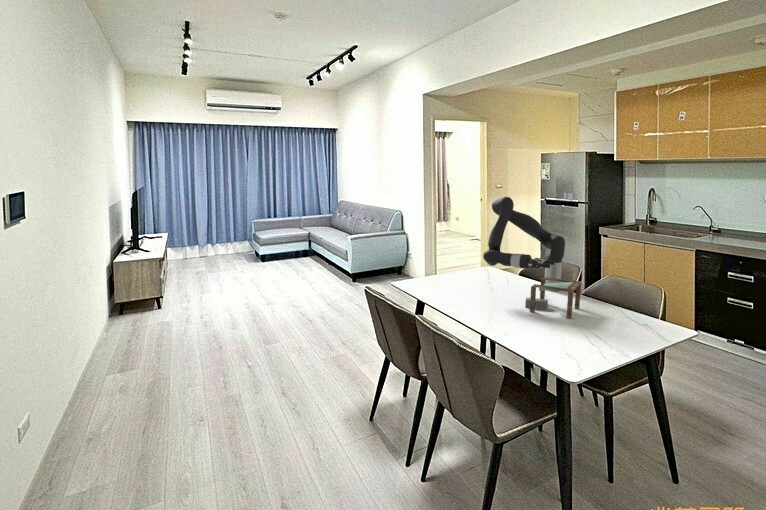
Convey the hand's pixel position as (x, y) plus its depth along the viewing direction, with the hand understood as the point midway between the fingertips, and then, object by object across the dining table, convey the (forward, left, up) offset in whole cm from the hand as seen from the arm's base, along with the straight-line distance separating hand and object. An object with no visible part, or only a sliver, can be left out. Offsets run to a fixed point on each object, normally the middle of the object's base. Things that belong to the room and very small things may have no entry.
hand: (552, 264), depth 237 cm
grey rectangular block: (-1, -1, -22) cm, 22 cm away
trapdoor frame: (0, +3, -24) cm, 24 cm away
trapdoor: (0, +3, -12) cm, 12 cm away
